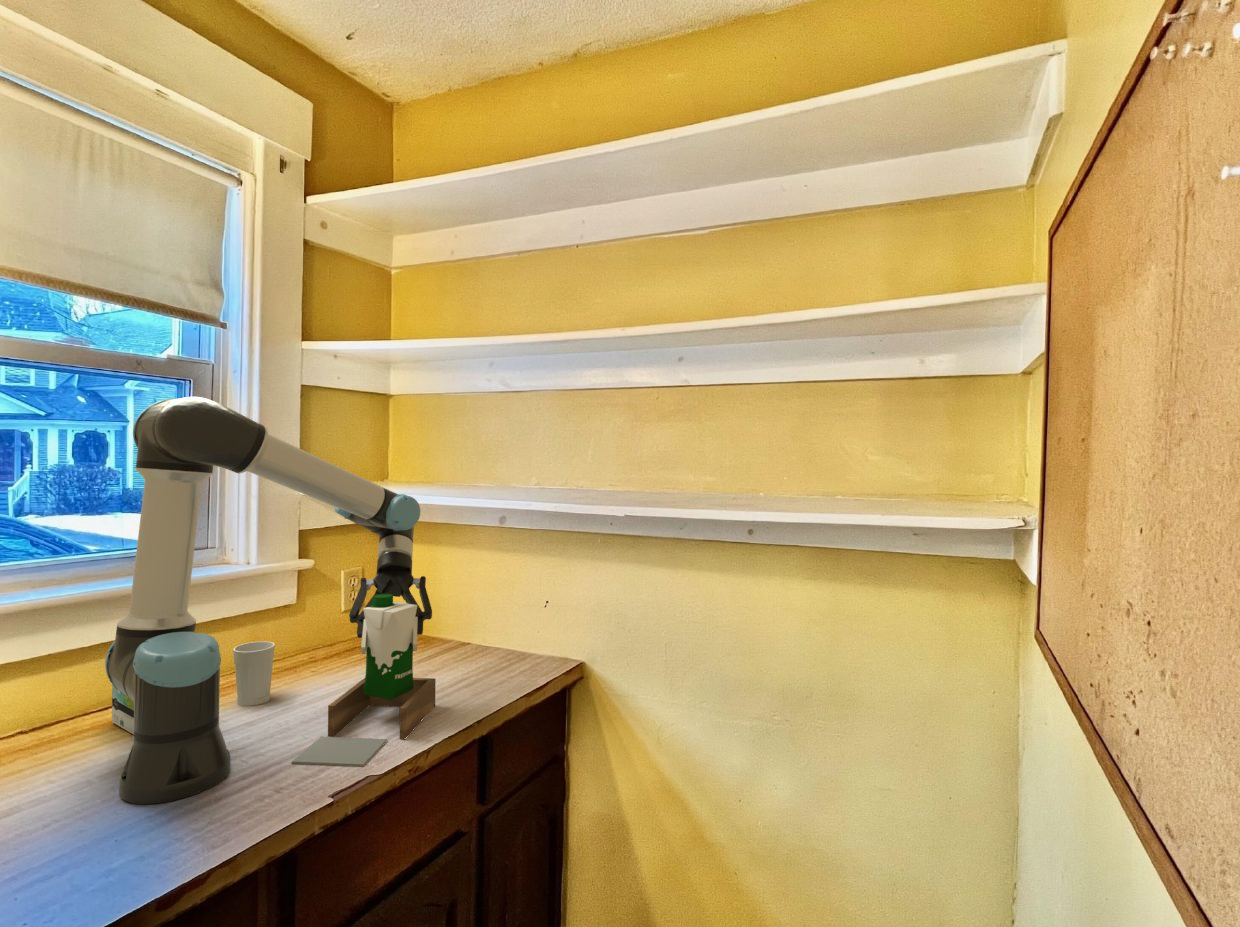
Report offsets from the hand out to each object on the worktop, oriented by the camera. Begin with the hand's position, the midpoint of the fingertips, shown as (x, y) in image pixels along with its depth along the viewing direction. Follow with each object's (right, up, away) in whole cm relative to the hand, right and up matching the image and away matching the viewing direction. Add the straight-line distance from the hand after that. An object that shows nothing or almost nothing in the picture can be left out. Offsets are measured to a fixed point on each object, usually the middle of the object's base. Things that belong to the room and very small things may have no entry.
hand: (389, 649), depth 129 cm
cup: (-34, -15, +11) cm, 39 cm away
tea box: (-46, -15, -2) cm, 49 cm away
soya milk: (-1, -10, +3) cm, 11 cm away
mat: (-4, -15, -13) cm, 20 cm away
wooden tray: (-1, -15, +1) cm, 15 cm away
